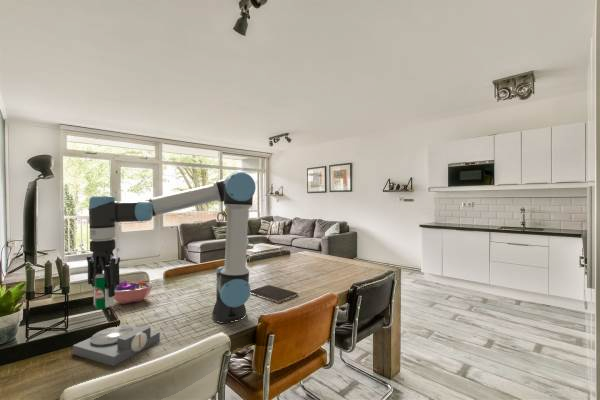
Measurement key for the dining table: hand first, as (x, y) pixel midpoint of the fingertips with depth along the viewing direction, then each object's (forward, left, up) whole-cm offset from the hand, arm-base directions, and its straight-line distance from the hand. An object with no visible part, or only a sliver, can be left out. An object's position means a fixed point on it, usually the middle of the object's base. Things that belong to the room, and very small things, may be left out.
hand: (104, 304), depth 100 cm
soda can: (0, 0, -1) cm, 1 cm away
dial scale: (-3, -3, -16) cm, 16 cm away
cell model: (+33, -37, -16) cm, 52 cm away
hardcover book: (-31, -74, -17) cm, 82 cm away
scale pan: (0, -3, -13) cm, 13 cm away
